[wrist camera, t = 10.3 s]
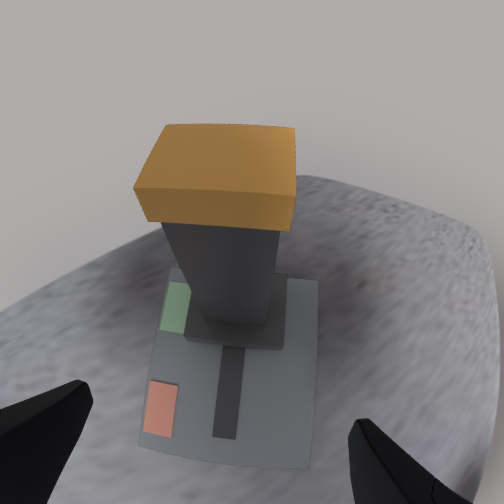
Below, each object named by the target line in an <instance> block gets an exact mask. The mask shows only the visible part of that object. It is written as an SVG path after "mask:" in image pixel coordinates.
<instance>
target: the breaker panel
mask: <svg viewBox="0 0 504 504" xmlns="http://www.w3.org/2000/svg"><path fill="white" fill-rule="evenodd" d="M190 297H191V290H190V287H189V285H188V283H187V281H186V279H185V277H184V275H183V272H182V270H181V269H180V268H171V269H170V273H169V277H168V281H167V285H166V289H165V294H164V298H163V302H162V307H161V311H160V316H159V321H158V326H157V330H156V335H155V341H154V346H153V351H152V356H151V362H150V368H149V374H148V380H147V386H146V392H145V399H144V406H143V413H142V421H141V429H140V438H139V446H141V447H144V448H148V449H151V450H155V451H159V452H163V453H167V454H171V455H176V456H180V457H185V458H190V459H196V460H201V461H207V462H214V463H221V464H229V465H237V466H248V467H262V468H309V463H310V454H311V445H312V434H313V422H314V409H315V394H316V375H317V349H318V280H306V279H292V278H287V297H286V317H285V335H284V347H283V349H282V351H278V350H265V349H253V348H242V347H232V346H223V345H215V344H207V343H200V342H193V341H187V340H186V339H185V338H184V337H183V334H184V329H185V323H186V318H187V312H188V307H189V302H190Z"/></svg>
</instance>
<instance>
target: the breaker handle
mask: <svg viewBox="0 0 504 504" xmlns="http://www.w3.org/2000/svg"><path fill="white" fill-rule="evenodd" d="M295 153H296V151H295V128H287V127H275V126H262V125H261V126H260V125H241V124H173V125H166V126H165V128H164V129H163V131H162V133H161V135H160V136H159V138H158V140H157V142H156V144H155V145H154V147H153V150H152V151H151V153H150V155H149V157H148V159H147V161H146V163H145V165H144V166H143V168H142V170H141V173H140V175H139V177H138V179H137V181H136V183H135V185H134V187H133V189H134V191H135V193H136V195H137V198H138V200H139V202H140V205H141V206H142V209H143V211H144V213H145V216H146V218H147V220H148V222H161V225H162V227H163V229H164V232H165V234H166V236H167V239H168V241H169V243H170V246H171V248H172V250H173V252H174V255H175V257H176V259H177V261H178V264H179V266H180V268H181V270H182V272H183V275H184V277H185V279H186V281H187V283H188V285H189V287H190V290H191V297H190V302H189V307H188V312H187V318H186V323H185V329H184V334H183V337H184V338H185V339H186V340H187V341H193V342H200V343H207V344H215V345H223V346H232V347H242V348H253V349H265V350H278V351H282V349H283V347H284V335H285V317H286V297H287V274H278V273H274V268H275V261H276V255H277V248H278V241H279V235H280V231H289V232H290V227H291V222H292V216H293V211H294V206H295V200H296V154H295Z"/></svg>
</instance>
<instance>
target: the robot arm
mask: <svg viewBox="0 0 504 504" xmlns="http://www.w3.org/2000/svg"><path fill="white" fill-rule="evenodd" d="M92 405H93V397H92V394H91V391H90V388H89V385H88V384H87V383H86V382H84V381H81V380H74V381H72V382H69V383H67V384H64V385H62V386H60V387H57V388H55V389H52V390H50V391H47V392H45V393H42V394H39V395H37V396H34V397H32V398H29V399H26V400H24V401H21V402H18V403H16V404H13V405H10V406H8V407H5V408H2V409H0V504H47V502H48V500H49V497H50V495H51V493H52V491H53V489H54V487H55V485H56V483H57V480H58V478H59V476H60V474H61V472H62V470H63V468H64V466H65V464H66V462H67V460H68V458H69V456H70V454H71V453H72V451H73V449H74V447H75V445H76V443H77V441H78V439H79V437H80V435H81V433H82V430H83V428H84V425H85V422H86V420H87V417H88V415H89V412H90V410H91V408H92ZM348 446H349V461H350V477H351V484H352V489H353V495H354V500H355V504H473V503H471V502H469V501H467V500H466V499H464V498H462V497H461V496H459V495H458V494H456V493H455V492H453V491H452V490H451V489H449V488H448V487H447V486H445V485H444V484H443V483H442V482H440V481H439V480H438V479H437V478H434V476H433V475H432V474H431V473H430V472H428V471H427V470H426V469H425V468H424V467H422V466H421V465H420V464H419V463H418V462H417V461H416V460H414V459H413V458H412V457H411V456H410V455H409V454H408V453H406V452H405V451H404V450H403V449H402V448H401V447H400V446H398V445H397V444H396V443H395V442H394V441H393V440H392V439H391V438H390V437H388V436H387V435H386V434H385V433H384V432H383V431H382V430H381V429H380V428H379V427H377V426H376V425H375V424H374V423H373V422H372V421H371V420H370V419H368V418H364V419H357V420H356V421H355V422H354V425H353V427H352V429H351V431H350V433H349V436H348Z"/></svg>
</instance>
